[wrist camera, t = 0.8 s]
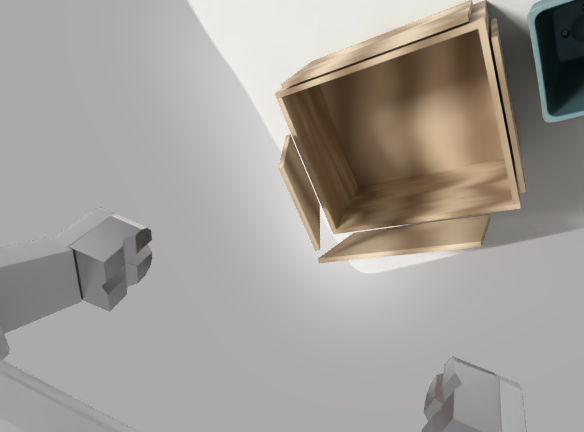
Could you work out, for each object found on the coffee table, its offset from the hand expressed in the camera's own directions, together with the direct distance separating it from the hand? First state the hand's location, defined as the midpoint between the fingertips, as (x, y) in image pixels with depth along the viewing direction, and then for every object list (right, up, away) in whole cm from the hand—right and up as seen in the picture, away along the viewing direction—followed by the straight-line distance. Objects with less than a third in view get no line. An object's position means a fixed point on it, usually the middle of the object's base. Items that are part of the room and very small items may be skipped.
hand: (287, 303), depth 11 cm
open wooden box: (+13, +14, +34) cm, 39 cm away
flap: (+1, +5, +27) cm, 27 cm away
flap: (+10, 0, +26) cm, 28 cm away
